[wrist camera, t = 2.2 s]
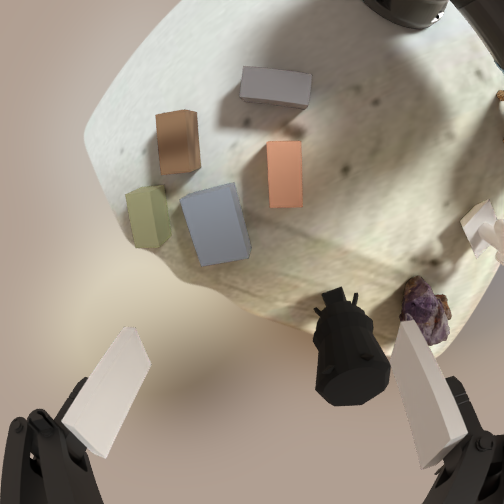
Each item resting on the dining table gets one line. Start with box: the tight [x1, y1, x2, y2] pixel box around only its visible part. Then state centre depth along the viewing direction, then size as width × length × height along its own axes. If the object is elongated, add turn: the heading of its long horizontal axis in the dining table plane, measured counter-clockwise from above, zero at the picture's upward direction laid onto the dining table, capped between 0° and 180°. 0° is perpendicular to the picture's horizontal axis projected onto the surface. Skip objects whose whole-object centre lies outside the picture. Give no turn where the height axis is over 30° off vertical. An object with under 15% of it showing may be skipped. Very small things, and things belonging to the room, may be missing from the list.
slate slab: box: [180, 182, 252, 267], centre depth 38 cm, size 10×7×4 cm
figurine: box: [460, 199, 504, 266], centre depth 28 cm, size 7×9×15 cm
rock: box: [399, 276, 452, 346], centre depth 38 cm, size 12×9×10 cm
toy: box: [313, 287, 391, 406], centre depth 33 cm, size 8×9×20 cm
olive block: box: [125, 185, 172, 248], centre depth 38 cm, size 8×4×5 cm, turn 3°
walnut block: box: [156, 110, 201, 175], centre depth 33 cm, size 8×4×5 cm, turn 3°
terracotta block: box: [266, 141, 303, 208], centre depth 34 cm, size 8×4×5 cm, turn 3°
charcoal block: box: [239, 66, 312, 109], centre depth 29 cm, size 8×4×5 cm, turn 83°
